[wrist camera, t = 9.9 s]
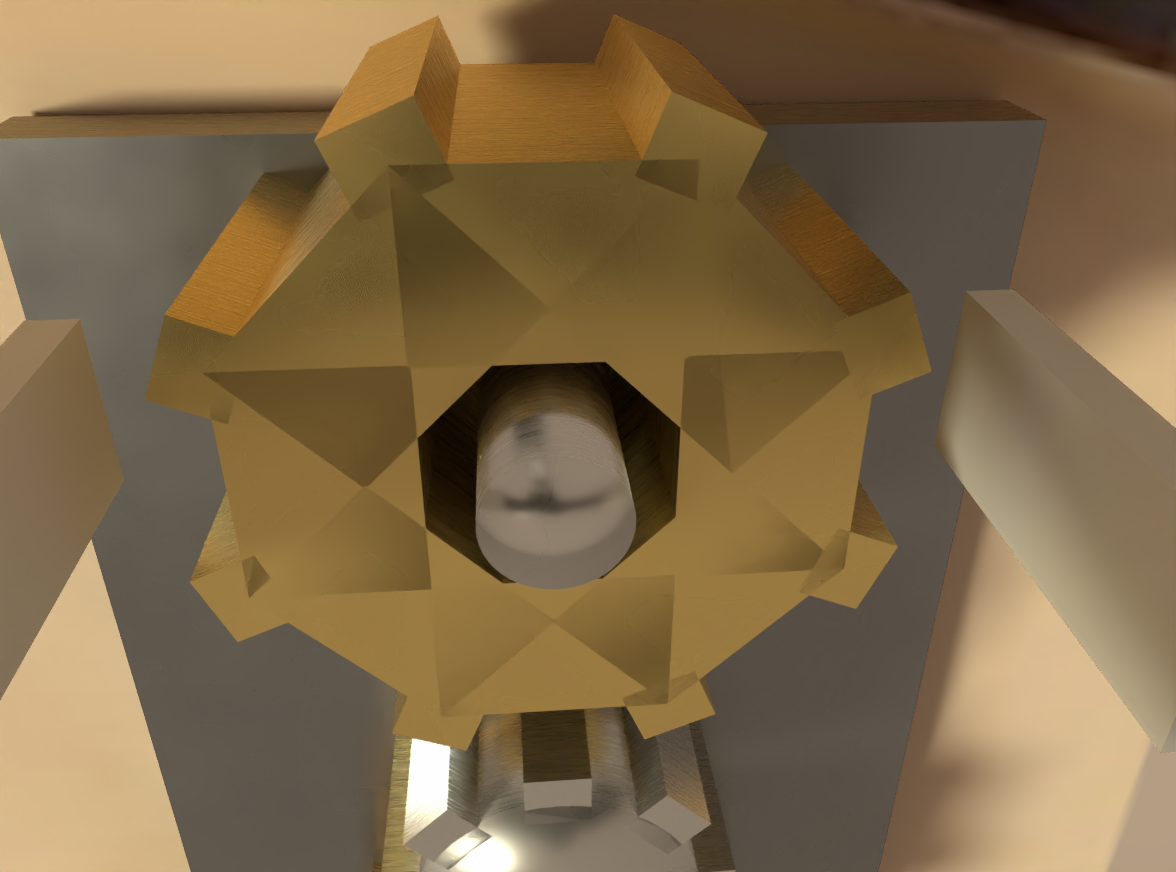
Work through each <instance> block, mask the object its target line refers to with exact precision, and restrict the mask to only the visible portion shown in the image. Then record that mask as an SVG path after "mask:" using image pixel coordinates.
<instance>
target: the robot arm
mask: <svg viewBox="0 0 1176 872" xmlns="http://www.w3.org/2000/svg"><path fill="white" fill-rule="evenodd" d="M934 446H935V447H936V449H937V450H938V451H939V453H940V454H941V455H942V457H943V458H944V459H945V461H946V462H947V463H948V465H949V466H950V468H951V469H952V470H953V472H954V473H955V474H956V476H957V477H958V478H959V480H960V481H961V483H962V484H963V485H964V487H965V488H966V489H967V491H968V492H969V493H970V495H971V496H972V497H973V499H974V500H975V502H976V503H977V504H978V506H979V507H980V508H981V510H982V511H983V512H984V514H985V515H986V516H987V518H988V519H989V521H990V522H991V523H992V525H993V526H994V527H995V529H996V530H997V531H998V533H999V534H1000V536H1001V537H1002V538H1003V540H1004V541H1005V542H1006V544H1007V545H1008V546H1009V548H1010V549H1011V550H1012V552H1013V553H1014V555H1015V556H1016V557H1017V559H1018V560H1019V561H1020V563H1021V564H1022V565H1023V567H1024V568H1025V569H1026V571H1027V572H1028V574H1029V575H1030V576H1031V578H1032V579H1033V580H1034V582H1035V583H1036V584H1037V586H1038V587H1039V589H1040V590H1041V591H1042V593H1043V594H1044V595H1045V597H1046V598H1047V599H1048V601H1049V602H1050V603H1051V605H1052V606H1053V608H1054V609H1055V610H1056V612H1057V613H1058V614H1059V616H1060V617H1061V618H1062V620H1063V621H1064V622H1065V624H1066V625H1067V627H1068V628H1069V629H1070V631H1071V632H1072V633H1073V635H1074V636H1075V637H1076V639H1077V640H1078V642H1079V643H1080V644H1081V646H1082V647H1083V648H1084V650H1085V651H1086V652H1087V654H1088V655H1089V656H1090V658H1091V659H1092V661H1093V662H1094V663H1095V665H1096V666H1097V667H1098V669H1099V670H1100V671H1101V673H1102V674H1103V675H1104V677H1105V678H1106V680H1107V681H1108V682H1109V684H1110V685H1111V686H1112V688H1113V689H1114V690H1115V692H1116V693H1117V695H1118V696H1119V697H1120V699H1121V700H1122V701H1123V703H1124V704H1125V705H1126V707H1127V708H1128V709H1129V711H1130V712H1131V714H1132V715H1133V716H1134V718H1135V719H1136V720H1137V722H1138V723H1139V724H1140V726H1141V727H1142V728H1143V730H1144V731H1145V733H1146V734H1147V735H1148V737H1149V738H1150V739H1151V741H1152V742H1153V743H1154V745H1155V746H1156V747H1157V749H1158V750H1159V752H1160V753H1166V752H1176V428H1175V427H1174V426H1172V425H1171V424H1170V423H1169V422H1168V421H1167V420H1165V419H1164V418H1163V417H1162V416H1161V415H1160V414H1158V413H1157V412H1156V411H1155V410H1154V409H1153V408H1151V407H1150V406H1149V405H1148V404H1147V403H1146V402H1144V401H1143V400H1142V399H1141V398H1140V397H1139V396H1137V395H1136V394H1135V393H1134V392H1133V391H1132V390H1130V389H1129V388H1128V387H1127V386H1126V385H1125V384H1123V383H1122V382H1121V381H1120V380H1119V379H1118V378H1116V377H1115V376H1114V375H1113V374H1112V373H1111V372H1110V371H1108V370H1107V369H1106V368H1105V367H1104V366H1103V365H1101V364H1100V363H1099V362H1098V361H1097V360H1096V359H1094V358H1093V357H1092V356H1091V355H1090V354H1089V353H1087V352H1086V351H1085V350H1084V349H1083V348H1082V347H1080V346H1079V345H1078V344H1077V343H1076V342H1075V341H1073V340H1072V339H1071V338H1070V337H1069V336H1068V335H1066V334H1065V333H1064V332H1063V331H1062V330H1061V329H1059V328H1058V327H1057V326H1056V325H1055V324H1054V323H1052V322H1051V321H1050V320H1049V319H1048V318H1047V317H1045V316H1044V315H1043V314H1042V313H1041V312H1040V311H1038V310H1037V309H1036V308H1035V307H1034V306H1033V305H1031V304H1030V303H1029V302H1028V301H1027V300H1026V299H1024V298H1023V297H1022V296H1021V295H1020V294H1019V293H1017V292H1016V291H1015V290H1014V289H1012V290H980V291H966V292H965V297H964V301H963V306H962V311H961V316H960V321H959V326H958V331H957V336H956V340H955V345H954V350H953V355H952V360H951V365H950V370H949V374H948V379H947V384H946V389H945V394H944V399H943V404H942V408H941V413H940V418H939V423H938V428H937V433H936V438H935V442H934ZM123 481H124V478H123V474H122V471H121V467H120V463H119V460H118V456H117V453H116V449H115V445H114V442H113V438H112V434H111V431H110V427H109V423H108V420H107V416H106V412H105V409H104V405H103V401H102V398H101V394H100V390H99V387H98V383H97V379H96V376H95V372H94V368H93V365H92V361H91V357H90V354H89V350H88V347H87V343H86V339H85V336H84V332H83V328H82V325H81V321H80V319H59V320H28V321H24V322H23V323H22V324H21V325H20V326H19V327H18V328H17V329H16V330H15V331H14V332H13V333H12V334H11V335H10V336H9V337H8V338H7V339H6V341H5V342H4V343H3V344H2V345H1V346H0V700H1V698H2V696H3V694H4V693H5V691H6V689H7V687H8V685H9V684H10V682H11V680H12V678H13V677H14V675H15V673H16V671H17V669H18V668H19V666H20V664H21V662H22V661H23V659H24V657H25V655H26V653H27V652H28V650H29V648H30V646H31V645H32V643H33V641H34V639H35V637H36V636H37V634H38V632H39V630H40V629H41V627H42V625H43V623H44V621H45V620H46V618H47V616H48V614H49V613H50V611H51V609H52V607H53V605H54V604H55V602H56V600H57V598H58V597H59V595H60V593H61V591H62V589H63V588H64V586H65V584H66V582H67V581H68V579H69V577H70V575H71V573H72V572H73V570H74V568H75V566H76V565H77V563H78V561H79V559H80V558H81V556H82V554H83V552H84V550H85V549H86V547H87V545H88V543H89V542H90V540H91V538H92V536H93V534H94V533H95V531H96V529H97V527H98V526H99V524H100V522H101V520H102V518H103V517H104V515H105V513H106V511H107V510H108V508H109V506H110V504H111V502H112V501H113V499H114V497H115V495H116V494H117V492H118V490H119V488H120V486H121V485H122V483H123Z"/></svg>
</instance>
